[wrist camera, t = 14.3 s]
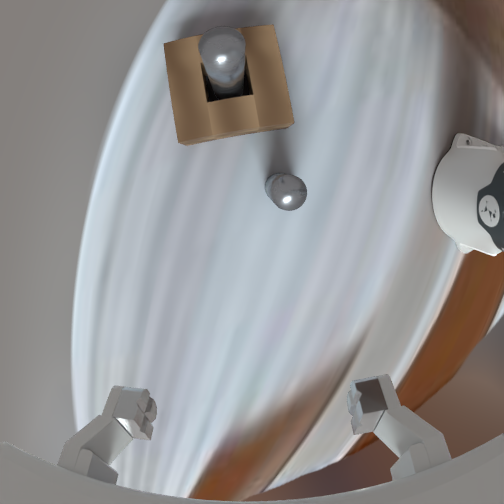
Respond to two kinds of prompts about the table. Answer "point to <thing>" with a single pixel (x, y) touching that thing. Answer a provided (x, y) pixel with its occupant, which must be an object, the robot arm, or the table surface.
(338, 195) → the table surface
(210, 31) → the long pin
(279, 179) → the short pin
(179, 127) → the hole block
